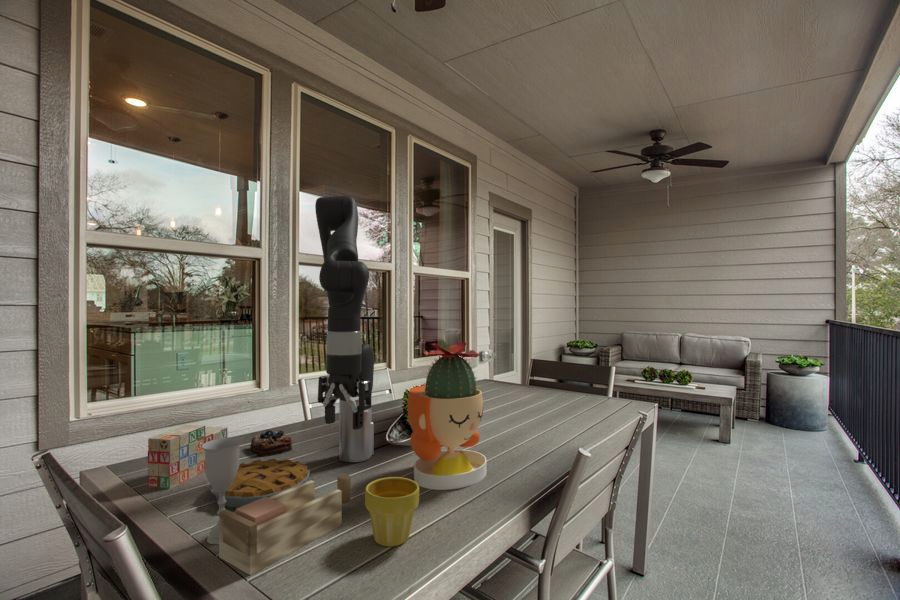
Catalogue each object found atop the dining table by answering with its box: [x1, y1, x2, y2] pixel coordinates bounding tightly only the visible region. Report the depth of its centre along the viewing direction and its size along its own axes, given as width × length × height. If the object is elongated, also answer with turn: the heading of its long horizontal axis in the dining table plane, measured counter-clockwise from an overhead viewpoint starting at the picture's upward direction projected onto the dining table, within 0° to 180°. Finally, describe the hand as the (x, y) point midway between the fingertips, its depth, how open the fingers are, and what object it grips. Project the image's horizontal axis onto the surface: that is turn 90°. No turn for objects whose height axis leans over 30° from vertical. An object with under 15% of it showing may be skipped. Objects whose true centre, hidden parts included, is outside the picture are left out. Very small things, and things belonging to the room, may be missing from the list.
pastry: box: [249, 429, 293, 457], centre depth 137 cm, size 11×12×6 cm
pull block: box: [235, 474, 352, 526], centre depth 88 cm, size 24×6×6 cm, turn 146°
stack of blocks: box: [147, 424, 228, 490], centre depth 119 cm, size 21×6×12 cm, turn 170°
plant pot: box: [364, 476, 420, 547], centre depth 86 cm, size 10×10×10 cm
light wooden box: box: [218, 479, 343, 576], centre depth 84 cm, size 20×9×8 cm, turn 146°
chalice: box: [202, 437, 243, 545], centre depth 86 cm, size 7×7×18 cm
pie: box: [208, 458, 311, 509], centre depth 107 cm, size 22×22×5 cm
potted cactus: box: [407, 341, 488, 491], centre depth 119 cm, size 22×22×35 cm
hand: (343, 426), depth 97 cm, fingers open, 8 cm apart
